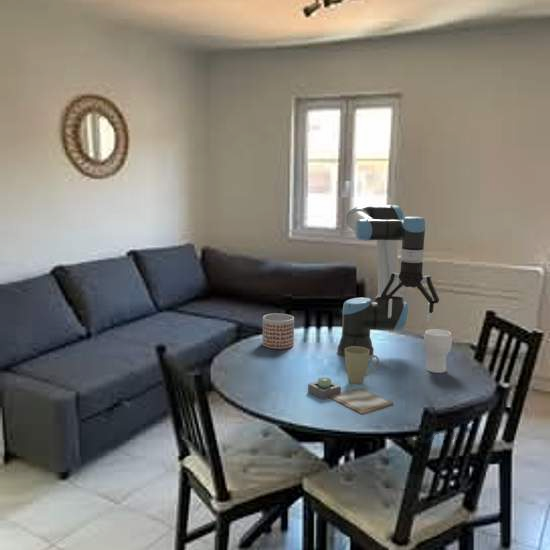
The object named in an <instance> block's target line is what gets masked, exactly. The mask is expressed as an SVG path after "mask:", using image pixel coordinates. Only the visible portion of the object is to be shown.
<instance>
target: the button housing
mask: <svg viewBox="0 0 550 550" xmlns="http://www.w3.org/2000/svg"><path fill="white" fill-rule="evenodd" d="M307 392H308V393H309V394H310V395H313V396H315V397H317V398H318V399H319V400H320V399H321V400H322V401H323V400H326V399H330V398H329V396H332V395H335V394H339V393H342V387H341V385H339V384H337V383H335V382H332V381H331V387H329V388H326V389H322V388H320V387H318V380H317V381H314V382H311V383H307Z"/></svg>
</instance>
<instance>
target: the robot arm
mask: <svg viewBox="0 0 550 550" xmlns="http://www.w3.org/2000/svg"><path fill="white" fill-rule="evenodd" d="M346 225H347V226H348V228H350V229H351V230H352V231H353V232H355V237H356V239H357V240H359V241H376V254H377V255H376V256H377V257H376V258H377V259H376V260H377V263H376V264H377V284H378V285H377V288H378V289H377V292H378V293H377V295H376V297H374V301H372V299H371V298H369V297H353V298H350V299H347V300H346V301H344V302H343V306H342V327H341V330H342V332H341V337H340V339H339V343H338V345H337V348H336V349H337V351H336V353H337V354H338V355H339V356H341V357H344V358H345V348H347V347H351V346H359V347H365V348H367V349H369V350H370V353H369V356H371V355H374V347H373V343H372V338H371V330H373V331H375V330H376V331H377V330H378V331H379V330H380V331H383V330H384V331H386V330H387V331H398V330H399V331H400V330H403V329H404V328H405V327H406V324H407V321H408V316H409V307H408V303H407V302H406V301H404V296H402V295H401V294H400V289H401V288H402V287H403V286H404V287H406V288H409V287H410V288H413V289H414V288H417V289H418V290H419V291H420V293H421V294H422V295H423V296H424V298H425V299H426V301H427V302H428V303H427V304H426V305H427V306H426V320H425V321H426V323H429V322H430V321H431V319H430V316H431V314H432V313H433V312H434V306H435V304H438V303H439V302H440V298H439V295H438V293H437V290H436V289H435V286H434V284H433V282H432V276H431V275H430V274H429V275H423V267H424V265H423V260H424V251H425V250H424V249H425V234H426V233H425V232H426V218H425V217H422V216H404V212H403V210H402V208H401V207H400V206H399V205H395V204H394V205H393V204H361V205H358V206H356V207H353V208H352V209H351V210H349V212H348V213H347V216H346ZM398 241H401V251H400V252H401V253H400V254H401V255H400V259H401V262H400V272H399V258H398V256H399V254H398ZM423 280H424V282H425V283H427V284H426V285H427V286H428V289H429V292H430V293H431V295H432V296H431V295H430V293H429V292H428V290H427V289H426V288H425V286H424V285H423V284H422V281H423ZM399 281H400V282H399Z"/></svg>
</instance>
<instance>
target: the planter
mask: <svg viewBox="0 0 550 550" xmlns="http://www.w3.org/2000/svg"><path fill="white" fill-rule="evenodd" d="M294 335H295V317H294V316H293V315H291V314H287V313H268V314H265V315H263V316H262V345H263V347H264V346H265V347H264V348H266V347H267V348H266V349H269V348H270V349H271V350H277V349H278V350H281V351H282V350H287V349H291V348H293V346H294V344H295V342H294V340H295V338H294V337H295V336H294Z"/></svg>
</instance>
